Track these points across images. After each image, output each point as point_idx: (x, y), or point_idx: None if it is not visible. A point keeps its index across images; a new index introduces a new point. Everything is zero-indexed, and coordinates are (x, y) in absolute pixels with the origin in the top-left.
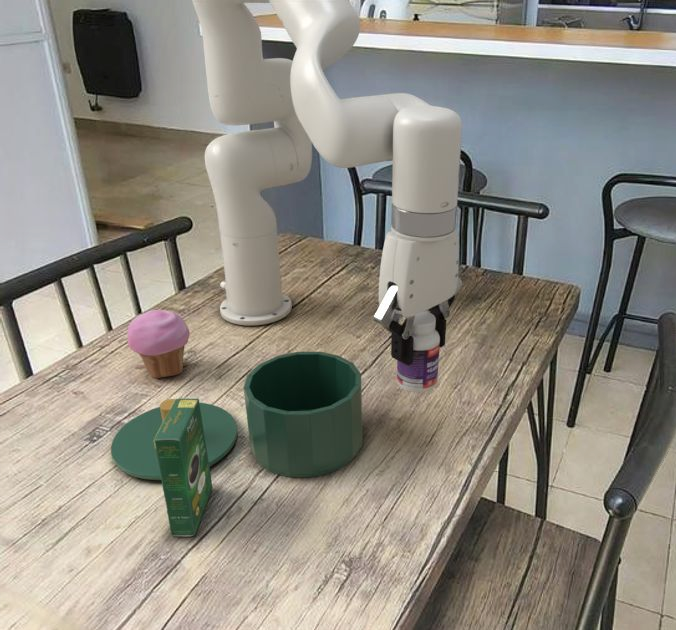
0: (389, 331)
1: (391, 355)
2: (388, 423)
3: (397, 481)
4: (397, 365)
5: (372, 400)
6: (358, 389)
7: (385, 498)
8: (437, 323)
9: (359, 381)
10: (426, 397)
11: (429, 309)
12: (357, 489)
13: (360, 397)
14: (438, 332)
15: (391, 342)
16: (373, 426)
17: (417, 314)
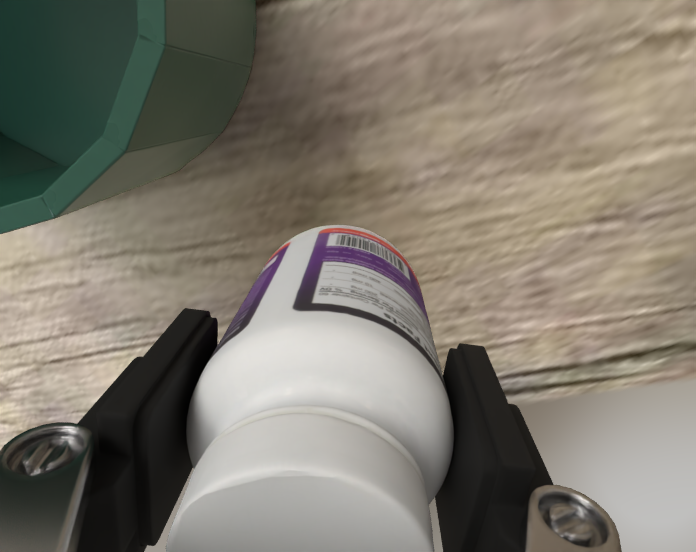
0: (30, 442)
1: (184, 310)
2: (317, 161)
3: (153, 318)
4: (257, 281)
5: (386, 32)
6: (35, 223)
7: (95, 328)
8: (455, 537)
9: (76, 188)
10: (502, 175)
11: (524, 521)
12: (66, 263)
13: (85, 206)
14: (442, 495)
15: (150, 349)
16: (276, 132)
17: (334, 540)
